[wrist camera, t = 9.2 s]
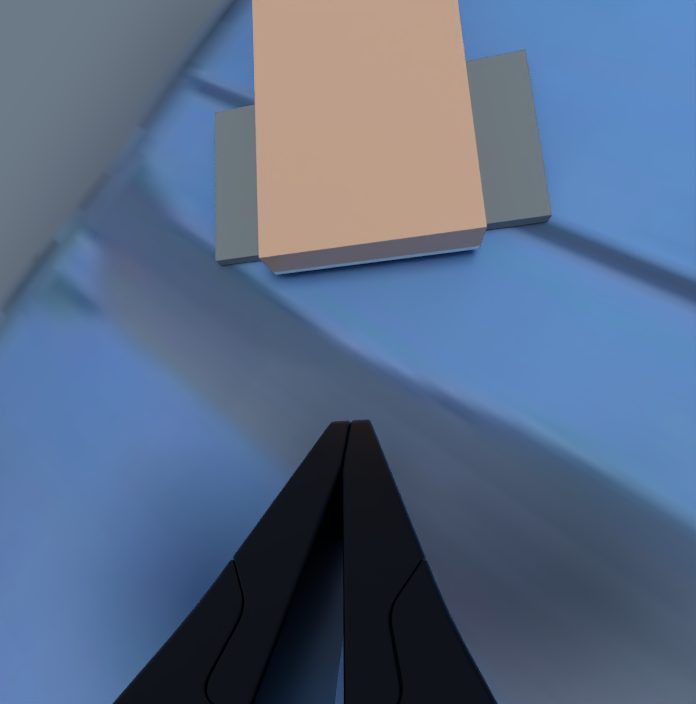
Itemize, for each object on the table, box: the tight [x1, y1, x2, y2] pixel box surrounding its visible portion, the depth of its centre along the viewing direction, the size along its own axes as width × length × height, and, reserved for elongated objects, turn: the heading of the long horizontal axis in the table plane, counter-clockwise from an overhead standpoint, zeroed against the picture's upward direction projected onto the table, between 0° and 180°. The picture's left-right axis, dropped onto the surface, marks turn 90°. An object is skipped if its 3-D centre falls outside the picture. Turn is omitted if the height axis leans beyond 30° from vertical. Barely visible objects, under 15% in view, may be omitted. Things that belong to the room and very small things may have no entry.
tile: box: [252, 0, 487, 275], centre depth 18 cm, size 2×9×14 cm
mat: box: [215, 49, 552, 265], centre depth 19 cm, size 8×15×1 cm, turn 93°
